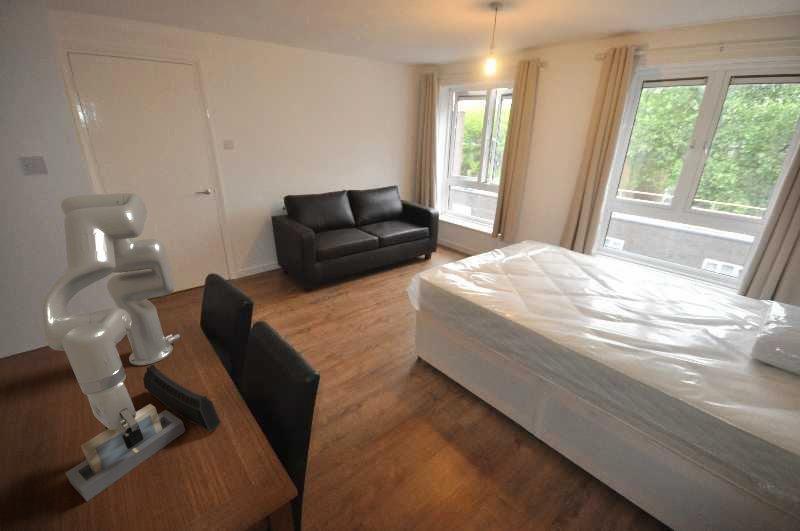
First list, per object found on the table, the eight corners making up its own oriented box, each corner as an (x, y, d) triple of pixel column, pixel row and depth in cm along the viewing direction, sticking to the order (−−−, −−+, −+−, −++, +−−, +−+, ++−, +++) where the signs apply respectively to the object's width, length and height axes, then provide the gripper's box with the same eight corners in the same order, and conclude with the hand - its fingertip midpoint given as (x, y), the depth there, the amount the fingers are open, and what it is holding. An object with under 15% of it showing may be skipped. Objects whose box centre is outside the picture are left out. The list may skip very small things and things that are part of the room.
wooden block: (158, 430, 88) (150, 403, 84) (164, 434, 86) (155, 407, 83) (93, 474, 76) (80, 445, 73) (98, 479, 75) (85, 450, 72)
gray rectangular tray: (168, 419, 92) (165, 409, 91) (185, 431, 89) (182, 421, 87) (70, 483, 75) (65, 472, 74) (86, 501, 71) (81, 490, 70)
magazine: (222, 404, 86) (151, 344, 95) (210, 413, 83) (138, 350, 92) (220, 442, 94) (155, 383, 103) (210, 451, 91) (144, 390, 100)
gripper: (63, 374, 74) (89, 431, 80) (100, 403, 66) (124, 464, 72) (104, 356, 80) (125, 410, 86) (142, 381, 72) (161, 438, 78)
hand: (125, 434), depth 79 cm, fingers open, 9 cm apart
